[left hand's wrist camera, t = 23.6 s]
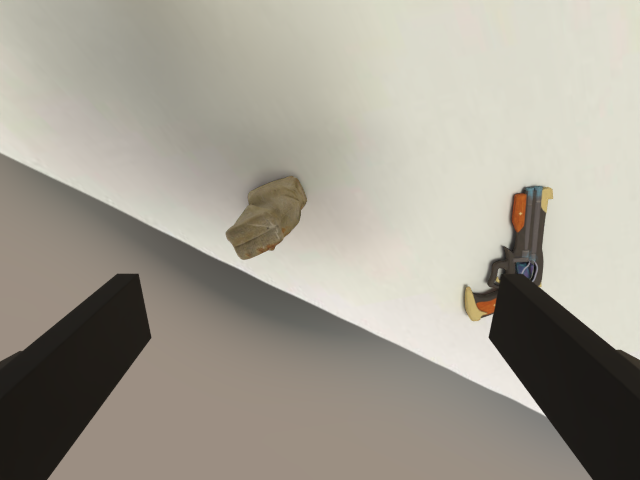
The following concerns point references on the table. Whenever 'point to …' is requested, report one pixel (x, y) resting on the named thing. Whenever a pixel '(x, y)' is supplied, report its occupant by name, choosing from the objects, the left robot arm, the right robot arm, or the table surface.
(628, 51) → the table surface
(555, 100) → the table surface
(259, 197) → the sculpture
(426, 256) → the table surface
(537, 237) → the toy gun
